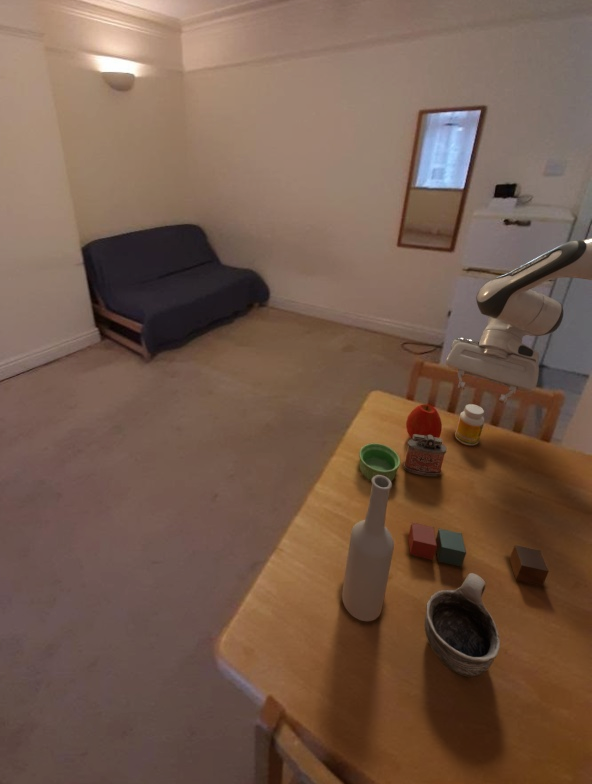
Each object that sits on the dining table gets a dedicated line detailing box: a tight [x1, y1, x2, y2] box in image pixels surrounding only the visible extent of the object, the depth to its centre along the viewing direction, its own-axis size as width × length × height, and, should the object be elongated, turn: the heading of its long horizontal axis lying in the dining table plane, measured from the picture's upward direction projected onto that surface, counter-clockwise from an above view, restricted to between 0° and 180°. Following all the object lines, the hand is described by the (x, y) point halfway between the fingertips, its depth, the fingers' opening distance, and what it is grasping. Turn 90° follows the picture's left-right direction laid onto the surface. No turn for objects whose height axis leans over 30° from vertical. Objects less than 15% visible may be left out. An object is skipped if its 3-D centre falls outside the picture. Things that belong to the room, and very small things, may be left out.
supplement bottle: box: [454, 403, 485, 446], centre depth 101 cm, size 5×5×10 cm
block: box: [435, 528, 467, 567], centre depth 75 cm, size 4×4×4 cm
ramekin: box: [358, 442, 401, 482], centre depth 94 cm, size 9×9×4 cm
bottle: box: [341, 475, 395, 622], centre depth 63 cm, size 7×7×28 cm
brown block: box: [508, 544, 550, 587], centre depth 72 cm, size 4×4×4 cm
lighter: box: [403, 434, 448, 477], centre depth 93 cm, size 8×3×10 cm, turn 74°
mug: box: [424, 572, 501, 677], centre depth 62 cm, size 10×12×10 cm
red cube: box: [408, 522, 437, 560], centre depth 77 cm, size 4×4×4 cm
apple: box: [405, 403, 443, 440], centre depth 102 cm, size 8×8×11 cm
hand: (480, 395), depth 103 cm, fingers open, 8 cm apart
